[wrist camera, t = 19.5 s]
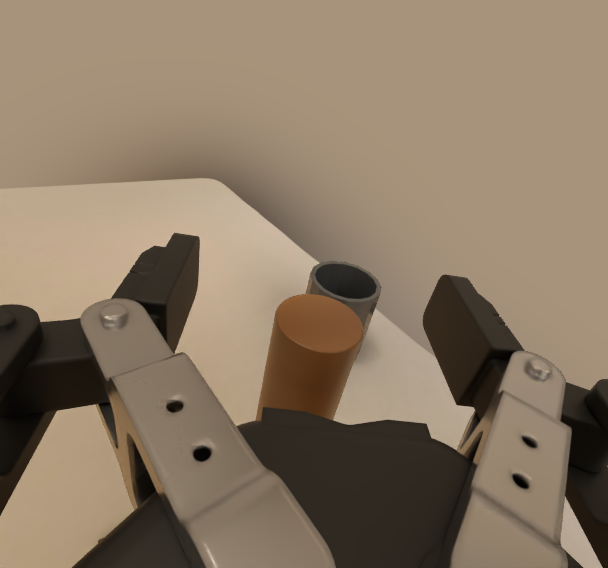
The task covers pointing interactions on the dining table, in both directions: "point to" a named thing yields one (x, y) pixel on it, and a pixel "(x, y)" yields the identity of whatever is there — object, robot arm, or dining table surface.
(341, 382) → the cylinder
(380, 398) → the dining table surface
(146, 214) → the dining table surface
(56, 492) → the dining table surface
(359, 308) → the holder
